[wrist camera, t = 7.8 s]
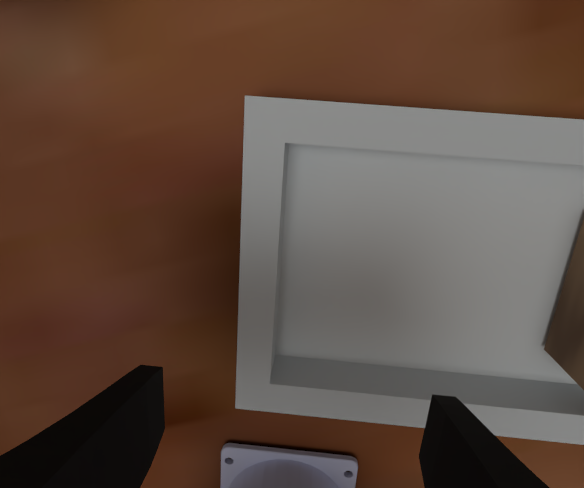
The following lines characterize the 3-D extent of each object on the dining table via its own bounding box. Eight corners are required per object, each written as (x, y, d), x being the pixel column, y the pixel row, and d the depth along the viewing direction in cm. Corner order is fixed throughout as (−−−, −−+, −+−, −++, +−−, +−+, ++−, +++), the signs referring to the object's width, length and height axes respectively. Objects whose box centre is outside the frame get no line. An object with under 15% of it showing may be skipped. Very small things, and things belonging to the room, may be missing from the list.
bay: (706, 416, 21) (767, 463, 18) (246, 370, 22) (235, 408, 19) (838, 141, 17) (946, 145, 14) (256, 99, 18) (245, 95, 15)
